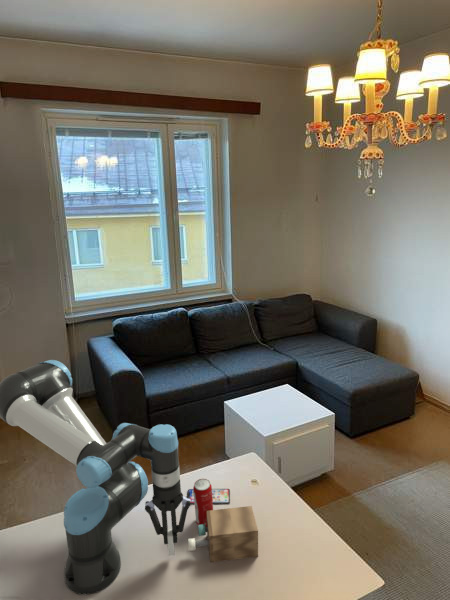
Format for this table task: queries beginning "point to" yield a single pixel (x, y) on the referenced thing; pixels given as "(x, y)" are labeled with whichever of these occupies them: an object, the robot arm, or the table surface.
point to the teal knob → (202, 529)
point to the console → (232, 534)
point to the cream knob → (196, 543)
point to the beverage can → (202, 500)
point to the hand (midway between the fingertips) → (171, 551)
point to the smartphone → (214, 496)
